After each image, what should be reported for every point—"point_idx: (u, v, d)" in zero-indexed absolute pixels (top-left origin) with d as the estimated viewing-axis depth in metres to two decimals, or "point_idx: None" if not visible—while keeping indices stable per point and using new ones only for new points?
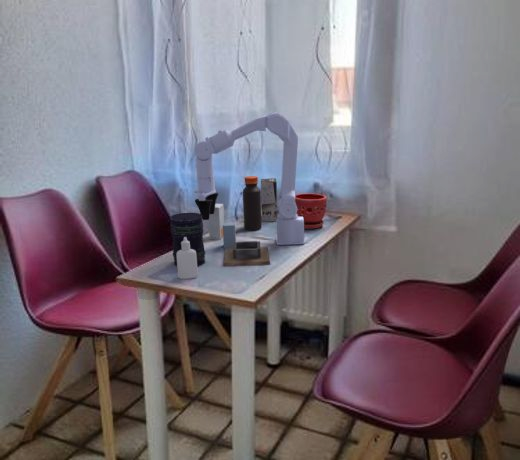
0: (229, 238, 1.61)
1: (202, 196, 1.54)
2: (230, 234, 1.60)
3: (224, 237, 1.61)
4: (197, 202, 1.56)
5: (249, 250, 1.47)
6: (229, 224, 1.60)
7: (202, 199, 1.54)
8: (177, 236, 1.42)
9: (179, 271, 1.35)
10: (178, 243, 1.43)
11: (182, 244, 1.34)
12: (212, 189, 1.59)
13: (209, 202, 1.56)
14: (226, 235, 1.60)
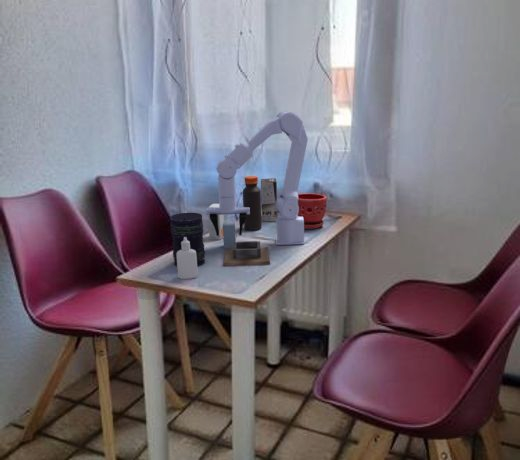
0: (229, 238, 1.61)
1: (206, 210, 1.60)
2: (230, 234, 1.60)
3: (224, 237, 1.61)
4: None
5: (249, 250, 1.47)
6: (229, 224, 1.60)
7: None
8: (177, 236, 1.42)
9: (179, 271, 1.35)
10: (178, 243, 1.43)
11: (182, 244, 1.34)
12: (223, 208, 1.57)
13: (210, 218, 1.58)
14: (226, 235, 1.60)
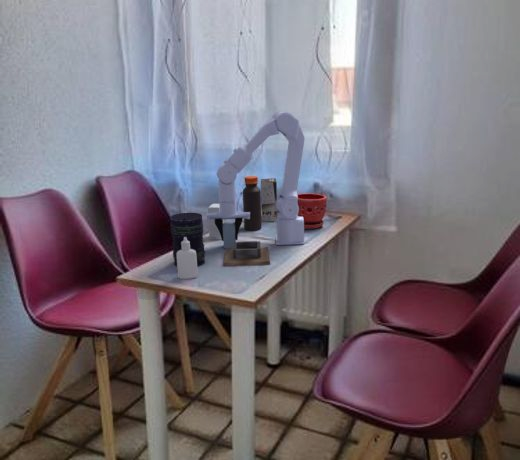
0: (229, 238, 1.61)
1: None
2: (230, 234, 1.60)
3: (224, 237, 1.61)
4: None
5: (249, 250, 1.47)
6: (229, 224, 1.60)
7: None
8: (177, 236, 1.42)
9: (179, 271, 1.35)
10: (178, 243, 1.43)
11: (182, 244, 1.34)
12: (223, 213, 1.58)
13: (215, 223, 1.59)
14: (226, 235, 1.60)
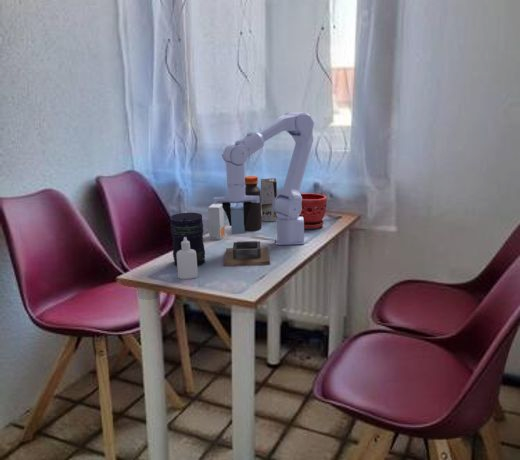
0: (238, 223, 1.53)
1: None
2: (238, 219, 1.52)
3: (232, 222, 1.53)
4: None
5: (249, 250, 1.47)
6: (238, 209, 1.52)
7: None
8: (177, 236, 1.42)
9: (179, 271, 1.35)
10: (178, 243, 1.43)
11: (182, 244, 1.34)
12: (231, 196, 1.50)
13: None
14: (234, 220, 1.52)
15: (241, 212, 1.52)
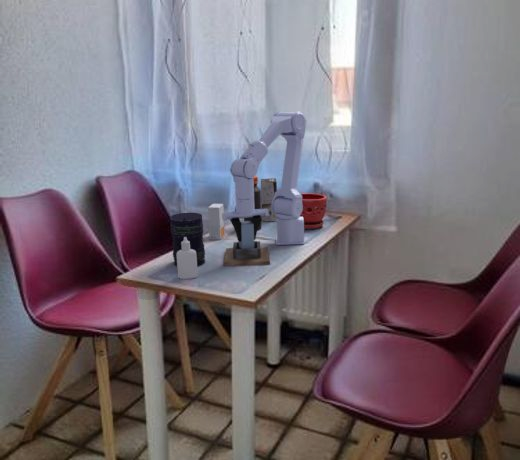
0: (248, 238, 1.49)
1: (223, 215, 1.46)
2: (249, 234, 1.48)
3: (243, 237, 1.48)
4: (230, 220, 1.49)
5: (249, 250, 1.47)
6: (247, 223, 1.48)
7: None
8: (177, 236, 1.42)
9: (179, 271, 1.35)
10: (178, 243, 1.43)
11: (182, 244, 1.34)
12: (243, 211, 1.45)
13: (234, 223, 1.45)
14: (244, 236, 1.48)
15: (251, 227, 1.48)
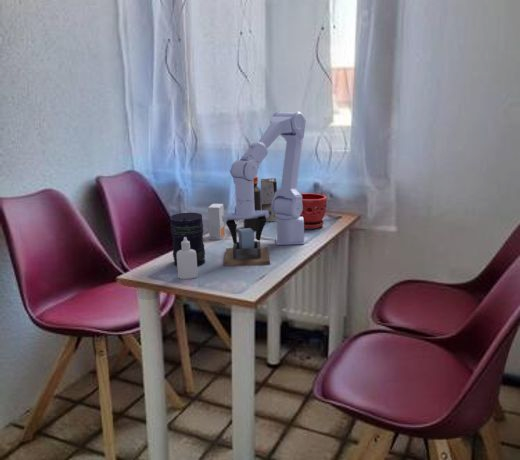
0: (248, 245, 1.49)
1: (223, 217, 1.46)
2: (249, 241, 1.49)
3: (243, 245, 1.49)
4: None
5: (249, 250, 1.47)
6: (247, 231, 1.49)
7: (223, 219, 1.46)
8: (177, 236, 1.42)
9: (179, 271, 1.35)
10: (178, 243, 1.43)
11: (182, 244, 1.34)
12: (243, 213, 1.45)
13: (229, 225, 1.45)
14: (245, 243, 1.49)
15: (252, 234, 1.49)
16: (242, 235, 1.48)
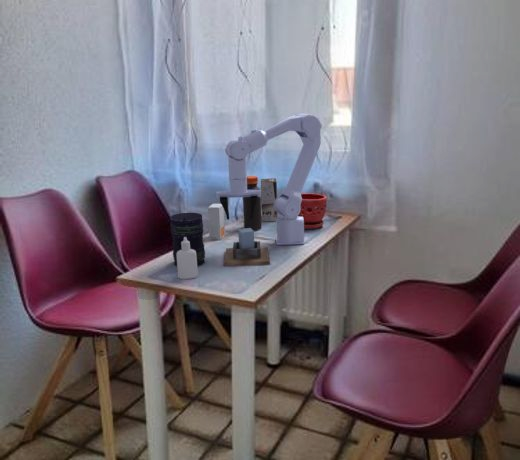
0: (248, 245, 1.49)
1: (216, 193, 1.55)
2: (249, 241, 1.49)
3: (243, 245, 1.49)
4: None
5: (249, 250, 1.47)
6: (247, 231, 1.49)
7: None
8: (177, 236, 1.42)
9: (179, 271, 1.35)
10: (178, 243, 1.43)
11: (182, 244, 1.34)
12: (233, 191, 1.53)
13: (220, 201, 1.54)
14: (245, 243, 1.49)
15: (252, 234, 1.49)
16: (242, 235, 1.48)
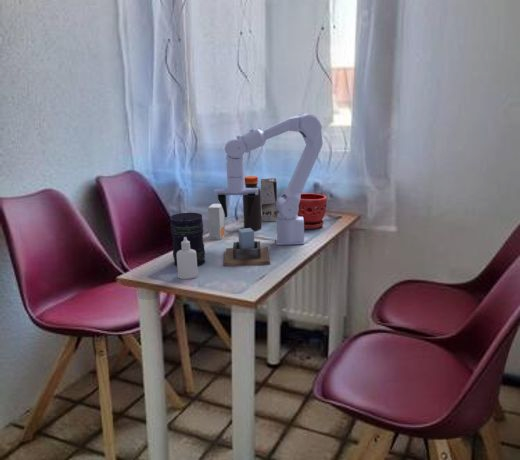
0: (248, 245, 1.49)
1: (214, 191, 1.59)
2: (249, 241, 1.49)
3: (243, 245, 1.49)
4: None
5: (249, 250, 1.47)
6: (247, 231, 1.49)
7: (215, 194, 1.59)
8: (177, 236, 1.42)
9: (179, 271, 1.35)
10: (178, 243, 1.43)
11: (182, 244, 1.34)
12: (231, 189, 1.57)
13: (218, 199, 1.58)
14: (245, 243, 1.49)
15: (252, 234, 1.49)
16: (242, 235, 1.48)
